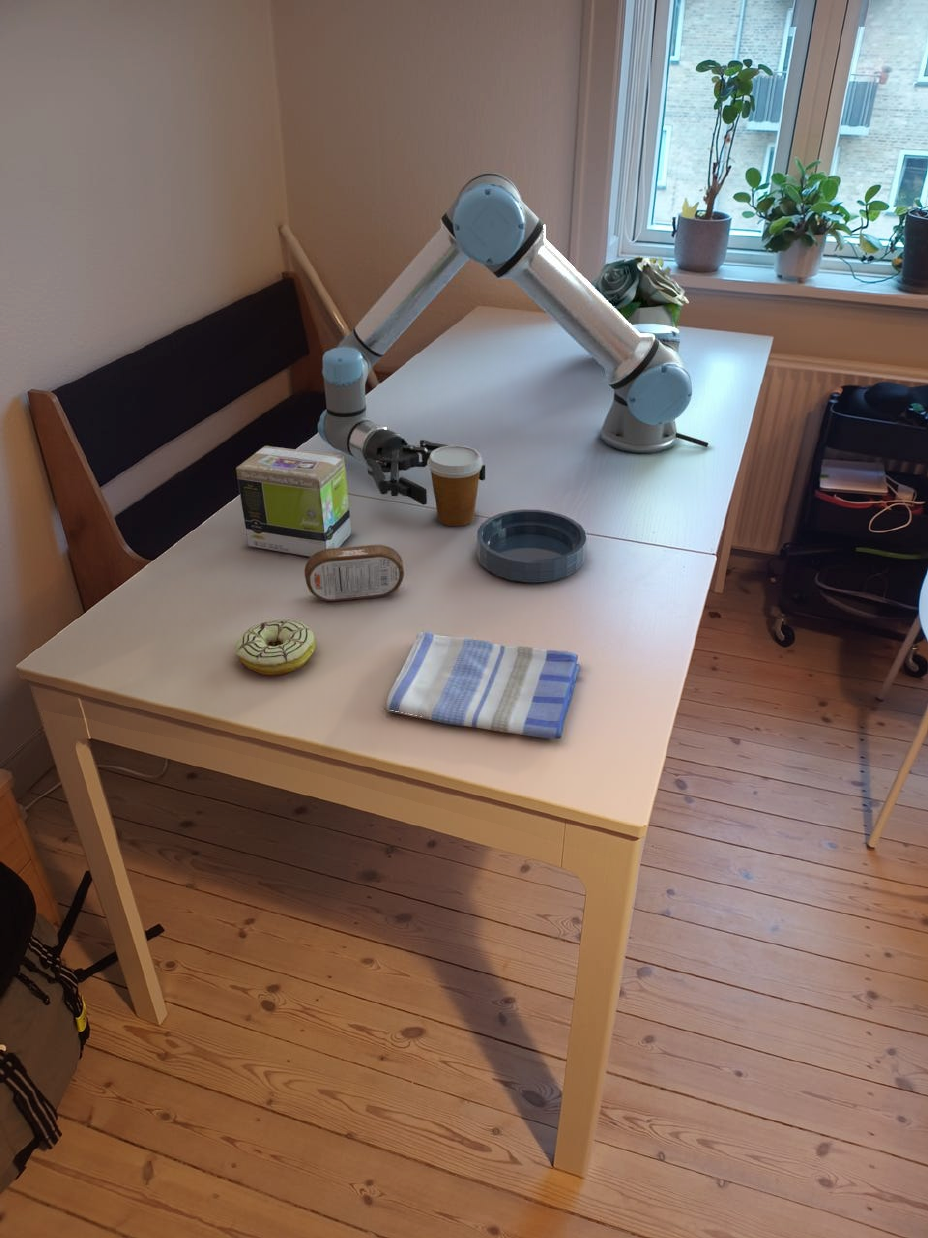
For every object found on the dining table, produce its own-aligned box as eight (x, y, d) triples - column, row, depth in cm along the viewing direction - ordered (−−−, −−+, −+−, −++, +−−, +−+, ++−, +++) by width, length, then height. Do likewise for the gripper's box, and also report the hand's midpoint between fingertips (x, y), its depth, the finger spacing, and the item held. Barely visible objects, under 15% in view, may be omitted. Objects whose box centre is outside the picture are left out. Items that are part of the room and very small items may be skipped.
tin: (403, 586, 147) (401, 539, 143) (406, 597, 145) (404, 549, 140) (307, 595, 145) (301, 548, 141) (307, 607, 143) (302, 559, 138)
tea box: (353, 533, 161) (346, 454, 153) (327, 562, 154) (318, 479, 145) (275, 520, 165) (264, 442, 157) (246, 547, 158) (233, 466, 149)
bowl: (581, 531, 162) (582, 510, 159) (587, 586, 147) (589, 563, 145) (478, 530, 162) (478, 508, 160) (475, 584, 148) (475, 561, 145)
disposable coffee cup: (477, 533, 161) (477, 469, 155) (423, 528, 163) (421, 464, 156) (487, 508, 169) (487, 446, 162) (435, 503, 171) (434, 441, 164)
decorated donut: (261, 630, 138) (258, 608, 136) (328, 643, 135) (325, 621, 133) (224, 671, 130) (220, 648, 127) (294, 686, 127) (291, 663, 125)
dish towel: (419, 640, 135) (419, 624, 134) (582, 665, 130) (583, 649, 129) (379, 716, 121) (378, 699, 120) (560, 747, 116) (561, 729, 115)
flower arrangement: (687, 375, 225) (701, 269, 211) (583, 375, 225) (590, 269, 212) (670, 342, 246) (682, 243, 232) (574, 342, 246) (580, 244, 232)
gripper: (430, 447, 184) (506, 482, 171) (326, 486, 171) (399, 527, 157) (429, 411, 180) (507, 444, 167) (322, 447, 166) (397, 487, 153)
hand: (455, 484), depth 162 cm, fingers open, 13 cm apart
